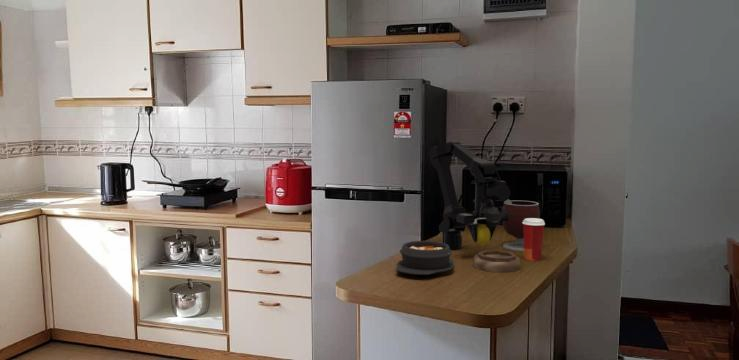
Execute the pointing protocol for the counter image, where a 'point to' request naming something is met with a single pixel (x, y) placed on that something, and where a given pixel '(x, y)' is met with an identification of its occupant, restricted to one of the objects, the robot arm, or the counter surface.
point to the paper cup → (533, 238)
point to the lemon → (483, 235)
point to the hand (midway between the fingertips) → (482, 241)
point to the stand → (496, 261)
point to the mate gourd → (518, 220)
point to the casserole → (425, 258)
